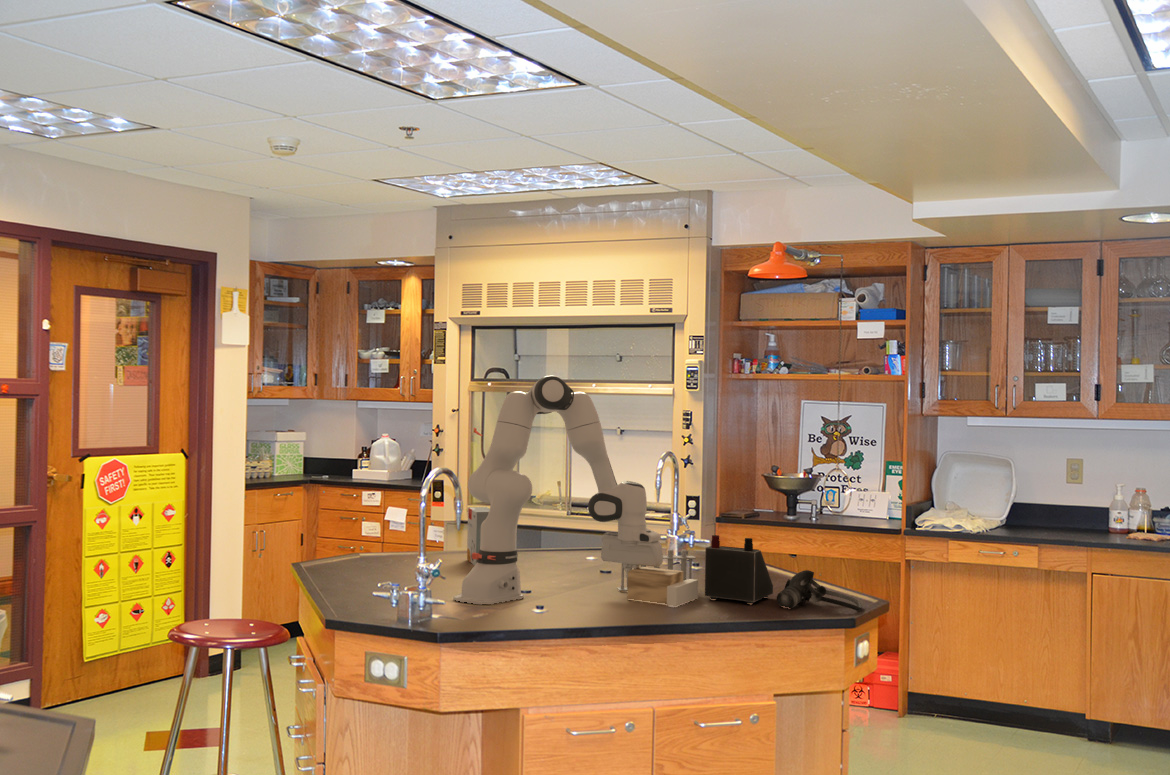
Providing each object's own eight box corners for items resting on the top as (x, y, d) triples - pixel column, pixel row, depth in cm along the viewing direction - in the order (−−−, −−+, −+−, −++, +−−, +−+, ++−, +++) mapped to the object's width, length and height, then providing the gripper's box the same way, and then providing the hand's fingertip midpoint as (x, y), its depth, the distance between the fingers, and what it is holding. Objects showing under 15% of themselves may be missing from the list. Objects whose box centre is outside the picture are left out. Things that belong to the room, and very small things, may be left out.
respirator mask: (780, 588, 324) (811, 553, 321) (833, 637, 318) (866, 602, 315) (769, 599, 305) (802, 562, 302) (825, 651, 299) (860, 614, 296)
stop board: (676, 607, 303) (676, 587, 304) (666, 606, 305) (667, 586, 305) (697, 599, 317) (698, 579, 317) (688, 598, 319) (689, 578, 319)
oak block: (669, 605, 306) (669, 575, 307) (627, 600, 313) (627, 570, 314) (683, 600, 315) (683, 571, 315) (642, 595, 322) (642, 566, 322)
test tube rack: (692, 589, 335) (693, 548, 335) (695, 592, 330) (696, 550, 331) (616, 589, 332) (617, 548, 332) (619, 592, 327) (619, 550, 328)
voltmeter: (773, 598, 322) (774, 534, 322) (754, 606, 308) (755, 539, 308) (725, 592, 330) (726, 530, 330) (704, 600, 316) (705, 535, 316)
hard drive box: (466, 560, 387) (467, 507, 388) (486, 559, 390) (487, 506, 390) (474, 566, 373) (475, 511, 373) (495, 565, 375) (496, 511, 375)
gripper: (597, 532, 323) (596, 576, 322) (656, 537, 313) (655, 583, 312) (607, 530, 328) (606, 573, 328) (665, 535, 318) (664, 580, 318)
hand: (631, 578), depth 320 cm, fingers closed
